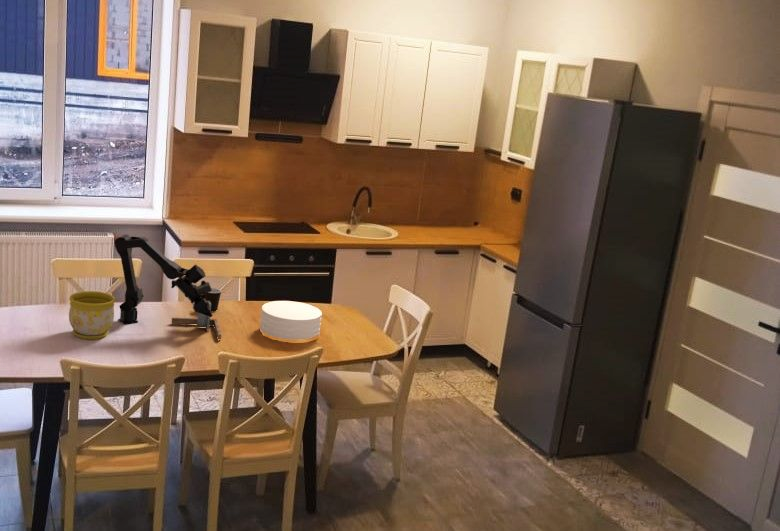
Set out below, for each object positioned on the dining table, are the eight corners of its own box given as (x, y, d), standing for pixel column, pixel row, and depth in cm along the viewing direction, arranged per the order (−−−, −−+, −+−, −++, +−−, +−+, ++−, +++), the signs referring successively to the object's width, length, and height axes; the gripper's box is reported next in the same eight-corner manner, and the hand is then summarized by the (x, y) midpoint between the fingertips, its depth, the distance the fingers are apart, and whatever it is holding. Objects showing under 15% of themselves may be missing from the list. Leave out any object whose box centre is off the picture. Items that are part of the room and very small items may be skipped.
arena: (220, 340, 350) (221, 334, 350) (173, 339, 344) (174, 333, 343) (216, 325, 369) (216, 319, 368) (171, 323, 363) (172, 317, 362)
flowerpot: (59, 337, 329) (60, 299, 325) (81, 324, 346) (83, 288, 342) (100, 344, 327) (102, 306, 323) (120, 331, 344) (122, 295, 340)
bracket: (208, 331, 359) (211, 304, 356) (197, 331, 358) (199, 304, 355) (207, 328, 364) (210, 301, 361) (196, 327, 362) (199, 300, 359)
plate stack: (247, 331, 367) (249, 308, 364) (282, 319, 392) (284, 297, 389) (297, 348, 355) (299, 324, 352) (330, 334, 380) (333, 311, 377)
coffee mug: (217, 313, 385) (219, 294, 383) (199, 311, 385) (201, 291, 383) (222, 306, 397) (224, 287, 394) (205, 304, 397) (207, 285, 394)
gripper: (203, 283, 346) (226, 308, 352) (200, 271, 363) (222, 295, 369) (183, 299, 345) (207, 324, 351) (181, 286, 362) (203, 310, 368)
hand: (210, 313), depth 360 cm, fingers open, 9 cm apart
